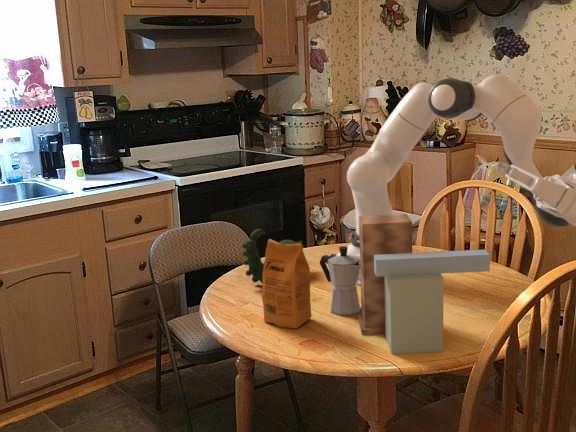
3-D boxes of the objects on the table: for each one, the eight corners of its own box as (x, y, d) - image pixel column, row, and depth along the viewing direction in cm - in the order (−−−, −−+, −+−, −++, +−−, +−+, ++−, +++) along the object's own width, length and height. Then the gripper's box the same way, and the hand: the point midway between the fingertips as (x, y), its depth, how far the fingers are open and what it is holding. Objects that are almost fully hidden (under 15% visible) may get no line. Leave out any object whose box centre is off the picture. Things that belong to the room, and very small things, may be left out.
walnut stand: (361, 334, 163) (358, 226, 156) (357, 317, 174) (354, 215, 167) (418, 331, 163) (417, 223, 156) (410, 314, 174) (409, 212, 167)
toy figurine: (264, 298, 196) (316, 267, 214) (256, 237, 190) (310, 211, 208) (241, 291, 202) (294, 262, 220) (232, 233, 196) (287, 208, 214)
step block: (391, 353, 152) (390, 280, 148) (385, 335, 162) (384, 266, 157) (443, 351, 152) (443, 278, 147) (433, 333, 161) (434, 264, 157)
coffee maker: (373, 310, 178) (372, 247, 173) (352, 320, 172) (350, 255, 168) (332, 298, 188) (330, 238, 184) (311, 307, 182) (308, 245, 178)
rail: (376, 276, 151) (376, 260, 150) (374, 271, 155) (373, 254, 154) (489, 271, 150) (490, 254, 149) (484, 265, 154) (485, 249, 153)
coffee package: (280, 309, 182) (276, 233, 176) (317, 318, 174) (313, 239, 169) (257, 322, 174) (252, 243, 169) (294, 332, 167) (290, 249, 161)
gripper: (544, 174, 164) (497, 149, 162) (579, 191, 144) (525, 162, 142) (530, 196, 165) (483, 171, 163) (563, 215, 145) (510, 188, 144)
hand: (503, 167), depth 153 cm, fingers open, 8 cm apart
